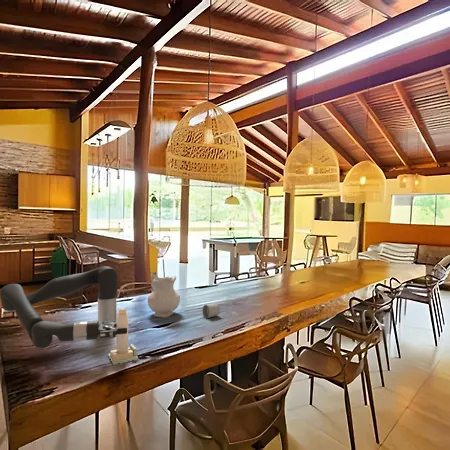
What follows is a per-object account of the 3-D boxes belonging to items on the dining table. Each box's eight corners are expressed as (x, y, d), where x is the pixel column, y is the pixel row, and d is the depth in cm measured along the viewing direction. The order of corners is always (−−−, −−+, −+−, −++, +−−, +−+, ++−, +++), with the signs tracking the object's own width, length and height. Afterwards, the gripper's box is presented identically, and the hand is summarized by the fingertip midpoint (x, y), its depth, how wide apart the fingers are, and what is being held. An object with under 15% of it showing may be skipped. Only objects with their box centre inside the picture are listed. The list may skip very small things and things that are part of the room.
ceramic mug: (220, 316, 207) (220, 303, 207) (209, 319, 202) (209, 306, 201) (209, 312, 215) (209, 300, 215) (199, 315, 210) (198, 302, 209)
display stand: (108, 356, 151) (107, 346, 151) (131, 351, 156) (131, 342, 156) (113, 364, 142) (113, 355, 142) (137, 359, 147) (137, 350, 147)
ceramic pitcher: (138, 317, 209) (135, 276, 206) (158, 306, 226) (156, 268, 223) (167, 322, 199) (165, 280, 196) (186, 311, 216) (185, 271, 213)
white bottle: (115, 350, 150) (115, 308, 149) (126, 347, 152) (126, 306, 152) (118, 354, 146) (118, 311, 145) (129, 351, 148) (129, 309, 147)
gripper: (88, 333, 152) (127, 330, 156) (84, 346, 138) (127, 342, 142) (87, 316, 151) (127, 313, 156) (84, 327, 138) (127, 323, 142)
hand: (127, 327), depth 149 cm, fingers open, 8 cm apart
